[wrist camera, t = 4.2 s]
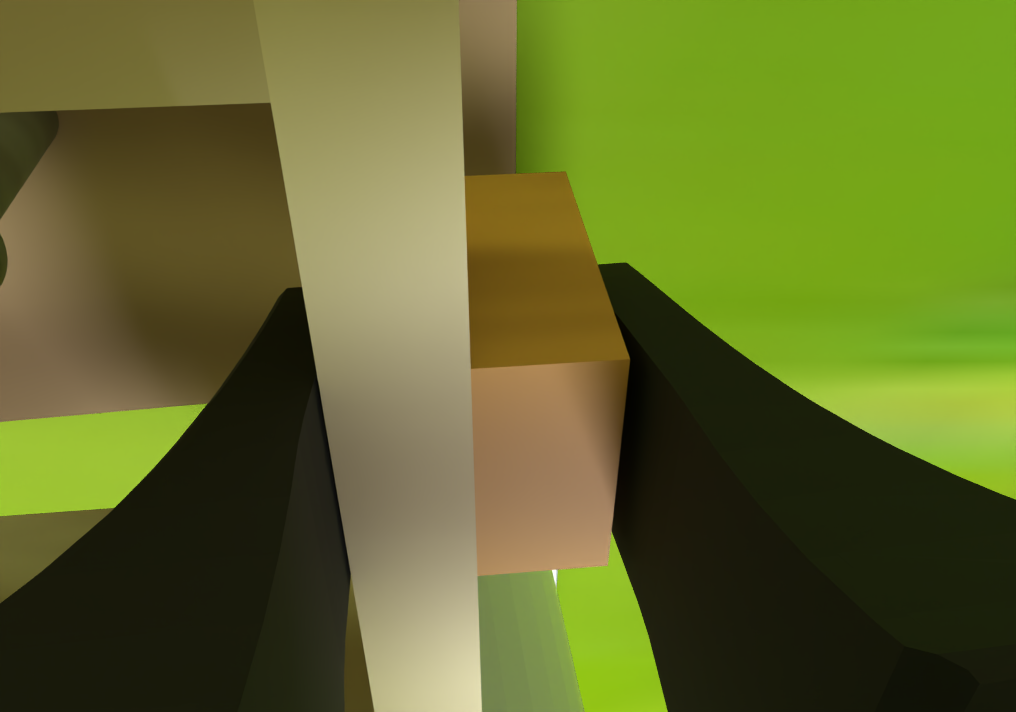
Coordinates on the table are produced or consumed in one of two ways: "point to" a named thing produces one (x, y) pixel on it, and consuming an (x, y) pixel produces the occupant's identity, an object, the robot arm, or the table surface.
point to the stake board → (172, 236)
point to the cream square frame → (384, 307)
